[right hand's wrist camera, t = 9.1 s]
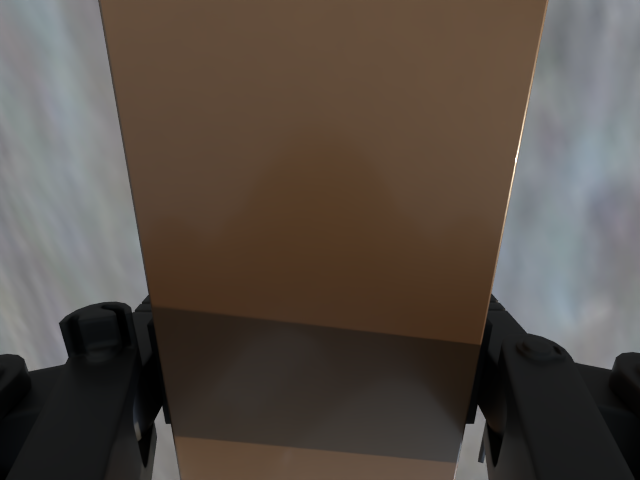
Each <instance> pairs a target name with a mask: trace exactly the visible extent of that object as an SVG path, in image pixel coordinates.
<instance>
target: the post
mask: <svg viewBox="0 0 640 480" xmlns="http://www.w3.org/2000/svg"><path fill="white" fill-rule="evenodd" d="M98 1H99V7H100V13H101V18H102V24H103V30H104V36H105V42H106V48H107V54H108V59H109V65H110V71H111V77H112V83H113V89H114V94H115V100H116V106H117V112H118V118H119V124H120V129H121V135H122V141H123V147H124V153H125V159H126V164H127V170H128V176H129V182H130V188H131V194H132V199H133V205H134V211H135V217H136V223H137V229H138V235H139V240H140V246H141V252H142V258H143V264H144V270H145V275H146V281H147V287H148V293H149V299H150V305H151V310H152V316H153V322H154V328H155V334H156V340H157V345H158V351H159V357H160V363H161V369H162V375H163V380H164V386H165V392H166V398H167V404H168V410H169V415H170V421H171V427H172V433H173V439H174V445H175V451H176V456H177V462H178V468H179V474H180V480H455V476H456V471H457V466H458V461H459V456H460V451H461V445H462V440H463V435H464V430H465V425H466V420H467V415H468V410H469V404H470V399H471V394H472V389H473V384H474V379H475V374H476V369H477V364H478V358H479V353H480V348H481V343H482V338H483V333H484V328H485V323H486V317H487V312H488V307H489V302H490V297H491V292H492V287H493V282H494V277H495V271H496V266H497V261H498V256H499V251H500V246H501V241H502V236H503V230H504V225H505V220H506V215H507V210H508V205H509V200H510V195H511V190H512V184H513V179H514V174H515V169H516V164H517V159H518V154H519V149H520V144H521V138H522V133H523V128H524V123H525V118H526V113H527V108H528V103H529V97H530V92H531V87H532V82H533V77H534V72H535V67H536V62H537V57H538V51H539V46H540V41H541V36H542V31H543V26H544V21H545V16H546V10H547V5H548V0H98Z"/></svg>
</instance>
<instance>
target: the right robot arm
mask: <svg viewBox="0 0 640 480" xmlns="http://www.w3.org/2000/svg"><path fill="white" fill-rule="evenodd" d="M59 325H60V329H61V332H62V336H63V339H64V343H65V346H66V350H67V353H68V357H69V358H68V360H67V362H66V364H64V365H60V366H55V367H50V368H45V369H40V370H34V371H29V372H28V369H27V366H26V363H25V360H24V359H23V358H22V357H20V356H19V355H13V354H4V355H0V480H151V479H152V471H153V464H154V456H155V448H156V441H157V434H156V428H155V423H154V420H155V418H156V416H157V414H158V413H159V411H160V409H161V407H163V412H164V417H165V422H166V424H171V421H170V415H169V410H168V404H167V398H166V392H165V386H164V380H163V375H162V369H161V363H160V357H159V351H158V345H157V340H156V334H155V328H154V322H153V316H152V310H151V305H150V299H149V295H148V296H147V297H146V298H145V299H144V300H143V302H142V304H140V305H139V306H138V307H137V308H136V309H135V312H133V313H132V311H131V307H130V306H128V305H127V304H125V303H120V302H102V303H98V304H93V305H89V306H86V307H84V308H81V309H78V310H76V311H74V312H72V313H71V314H69V315H67V316H66V317H65V318H64V319H63V320H62V321H61V322H60V323H59ZM477 405H479V407H480V409H481V411H482V413H483V415H484V417H485V419H486V423H485V428H484V433H483V438H482V442H481V447H480V452H479V458H478V462H481V463H483V462H484V457H485V455H486V463H487V470H488V478H489V480H640V353H635V352H630V353H622V354H620V355H619V356H617V357H616V359H615V362H614V365H613V368H612V370H609V369H604V368H599V367H594V366H589V365H584V364H579V363H575V362H574V361H573V359H572V357H571V356H570V355H569V353H568V352H567V351H566V350H565V349H564V348H562V347H561V346H560V345H558V344H557V343H555V342H553V341H551V340H548V339H546V338H544V337H541V336H537V335H533V334H527V333H526V332H525V330H524V329H523V328H522V327H521V326H520V325H519V324H518V323H517V322H516V320H515V319H514V318H513V317H512V316H511V315H510V314H509V313H508V311H505V308H504V307H503V306H502V305H501V304H500V303H498V300H497V299H496V298H495V297H494V296H493V295H492V294H491V297H490V302H489V307H488V312H487V317H486V323H485V328H484V333H483V338H482V343H481V348H480V353H479V358H478V364H477V369H476V374H475V379H474V384H473V389H472V394H471V399H470V404H469V410H468V415H467V420H466V424H474V421H475V416H476V411H477Z"/></svg>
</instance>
